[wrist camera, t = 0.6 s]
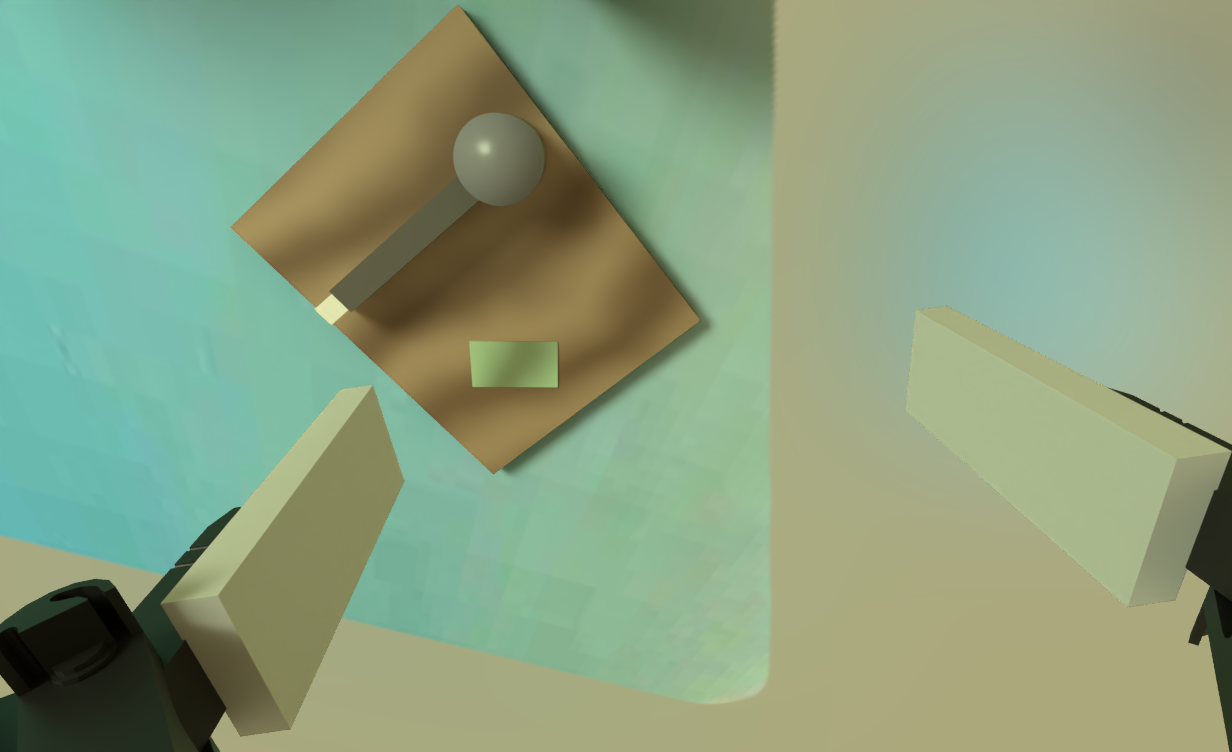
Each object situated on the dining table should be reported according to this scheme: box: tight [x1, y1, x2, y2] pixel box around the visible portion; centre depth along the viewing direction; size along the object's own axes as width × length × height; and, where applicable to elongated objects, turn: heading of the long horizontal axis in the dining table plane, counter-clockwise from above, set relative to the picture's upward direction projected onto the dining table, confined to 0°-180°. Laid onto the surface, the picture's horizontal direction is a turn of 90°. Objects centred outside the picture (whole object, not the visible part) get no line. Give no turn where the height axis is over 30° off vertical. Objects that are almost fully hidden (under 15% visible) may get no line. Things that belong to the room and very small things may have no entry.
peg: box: [315, 113, 546, 325], centre depth 32 cm, size 16×4×4 cm, turn 128°
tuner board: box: [231, 5, 700, 474], centre depth 36 cm, size 22×18×1 cm
